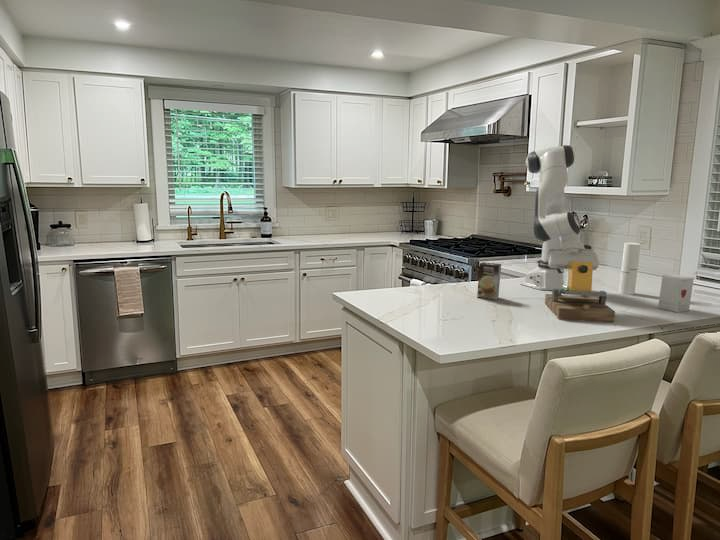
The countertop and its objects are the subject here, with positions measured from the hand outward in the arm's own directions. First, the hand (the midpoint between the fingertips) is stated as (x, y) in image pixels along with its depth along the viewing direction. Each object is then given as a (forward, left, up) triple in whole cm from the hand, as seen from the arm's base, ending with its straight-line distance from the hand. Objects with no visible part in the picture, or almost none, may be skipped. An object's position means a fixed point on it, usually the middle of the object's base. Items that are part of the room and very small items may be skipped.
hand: (574, 276), depth 226 cm
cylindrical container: (-3, +56, -15) cm, 58 cm away
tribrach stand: (+4, -3, -15) cm, 15 cm away
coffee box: (-34, -13, -15) cm, 40 cm away
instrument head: (+4, -3, -7) cm, 8 cm away
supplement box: (+25, +41, -15) cm, 50 cm away
